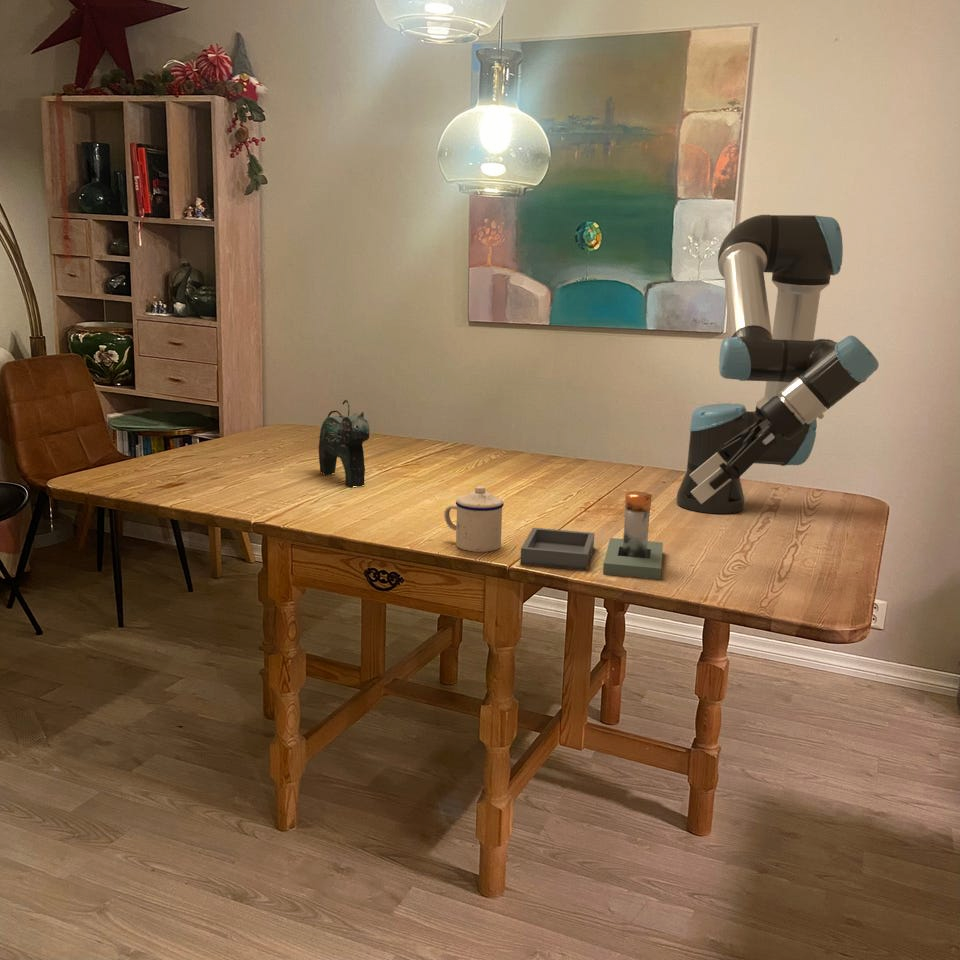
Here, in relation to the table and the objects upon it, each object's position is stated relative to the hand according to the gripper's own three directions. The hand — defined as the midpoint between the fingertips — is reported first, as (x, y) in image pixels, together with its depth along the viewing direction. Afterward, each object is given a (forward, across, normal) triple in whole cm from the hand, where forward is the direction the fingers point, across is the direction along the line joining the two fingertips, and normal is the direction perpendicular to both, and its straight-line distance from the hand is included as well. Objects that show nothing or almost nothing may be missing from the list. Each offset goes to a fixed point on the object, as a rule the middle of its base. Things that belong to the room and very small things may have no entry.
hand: (694, 489), depth 166 cm
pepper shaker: (+18, +1, -4) cm, 18 cm away
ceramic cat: (+69, +45, +48) cm, 95 cm away
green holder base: (+18, +1, -4) cm, 18 cm away
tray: (+27, +1, +6) cm, 28 cm away
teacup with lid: (+40, +3, +18) cm, 44 cm away
